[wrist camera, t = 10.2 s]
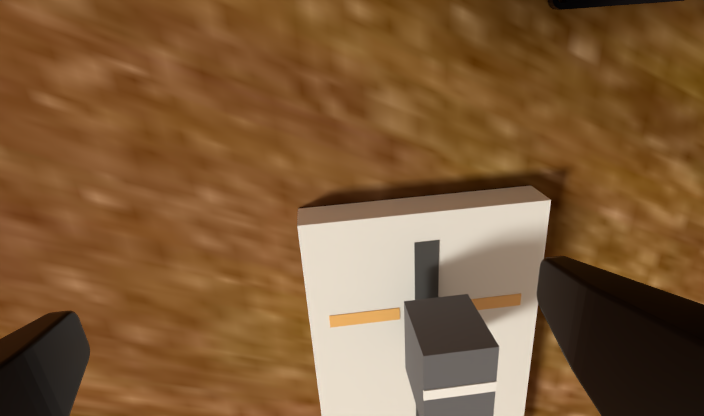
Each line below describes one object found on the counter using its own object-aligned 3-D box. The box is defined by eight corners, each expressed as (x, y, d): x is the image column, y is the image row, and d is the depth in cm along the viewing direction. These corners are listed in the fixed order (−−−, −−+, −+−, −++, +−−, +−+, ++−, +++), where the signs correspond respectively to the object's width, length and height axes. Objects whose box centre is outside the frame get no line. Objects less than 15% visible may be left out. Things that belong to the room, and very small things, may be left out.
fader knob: (458, 278, 21) (499, 347, 17) (456, 343, 23) (493, 422, 18) (398, 285, 21) (423, 357, 17) (400, 350, 23) (423, 431, 18)
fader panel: (531, 185, 22) (551, 200, 21) (501, 463, 31) (514, 492, 29) (297, 208, 22) (297, 226, 20) (332, 487, 30) (334, 518, 28)
